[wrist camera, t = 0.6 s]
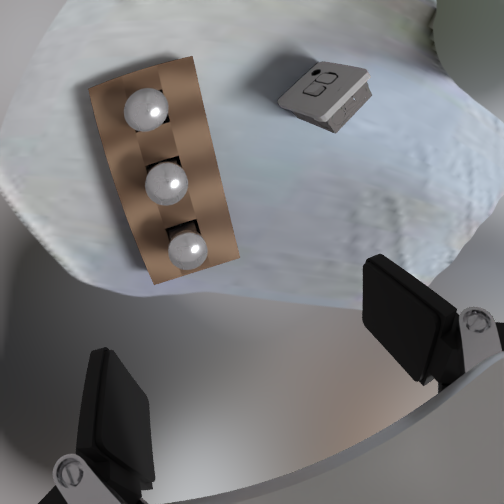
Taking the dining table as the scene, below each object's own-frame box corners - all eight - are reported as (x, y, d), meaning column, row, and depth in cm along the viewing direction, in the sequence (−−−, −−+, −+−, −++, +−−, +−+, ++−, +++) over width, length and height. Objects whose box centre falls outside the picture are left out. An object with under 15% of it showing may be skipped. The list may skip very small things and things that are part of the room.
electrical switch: (318, 60, 33) (362, 58, 25) (339, 87, 36) (383, 91, 28) (273, 102, 34) (310, 106, 27) (297, 128, 37) (337, 140, 30)
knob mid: (143, 164, 30) (139, 171, 27) (179, 152, 31) (181, 157, 27) (154, 199, 33) (152, 211, 29) (189, 187, 33) (192, 198, 29)
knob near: (125, 99, 26) (119, 96, 23) (163, 87, 27) (163, 82, 23) (134, 135, 29) (130, 137, 25) (172, 123, 29) (173, 123, 25)
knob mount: (95, 91, 27) (88, 88, 24) (190, 61, 29) (192, 56, 26) (154, 271, 40) (154, 285, 37) (234, 246, 42) (240, 257, 39)
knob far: (162, 226, 34) (163, 241, 30) (197, 215, 35) (201, 228, 31) (173, 256, 37) (175, 274, 33) (206, 246, 37) (212, 263, 33)
